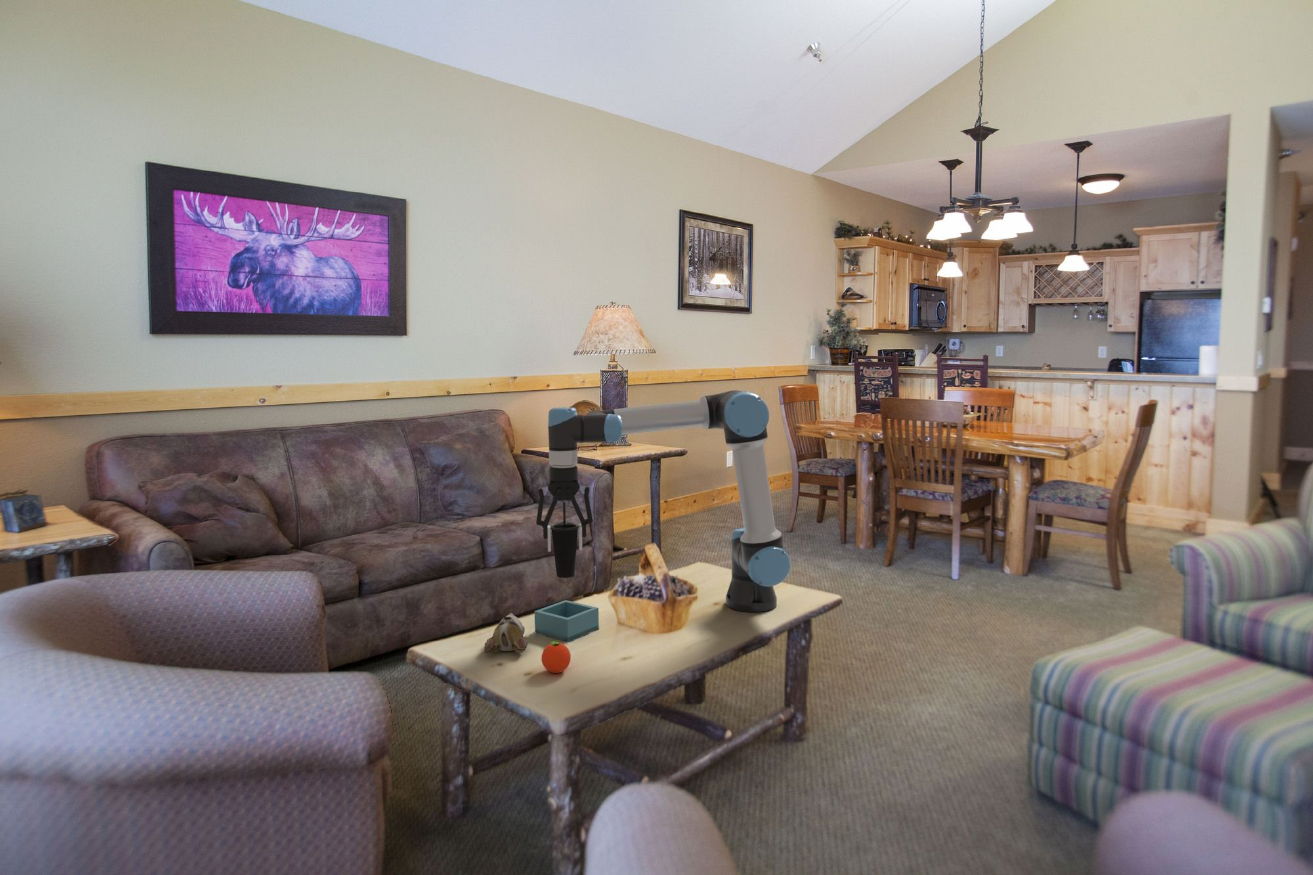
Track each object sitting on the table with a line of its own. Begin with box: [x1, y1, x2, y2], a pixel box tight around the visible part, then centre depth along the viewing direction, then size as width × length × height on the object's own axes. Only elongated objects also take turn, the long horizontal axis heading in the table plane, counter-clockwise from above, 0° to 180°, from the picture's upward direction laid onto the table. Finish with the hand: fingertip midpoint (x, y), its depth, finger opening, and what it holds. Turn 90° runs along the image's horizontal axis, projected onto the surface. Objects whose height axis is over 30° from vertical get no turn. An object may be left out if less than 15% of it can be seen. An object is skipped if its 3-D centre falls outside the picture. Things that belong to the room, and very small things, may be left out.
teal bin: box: [534, 599, 600, 643], centre depth 219 cm, size 12×12×6 cm
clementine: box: [540, 641, 572, 674], centre depth 192 cm, size 8×7×7 cm
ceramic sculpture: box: [483, 612, 528, 654], centre depth 206 cm, size 11×9×15 cm
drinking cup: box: [550, 501, 579, 579], centre depth 217 cm, size 8×8×20 cm
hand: (565, 549), depth 217 cm, fingers closed on drinking cup, 8 cm apart
